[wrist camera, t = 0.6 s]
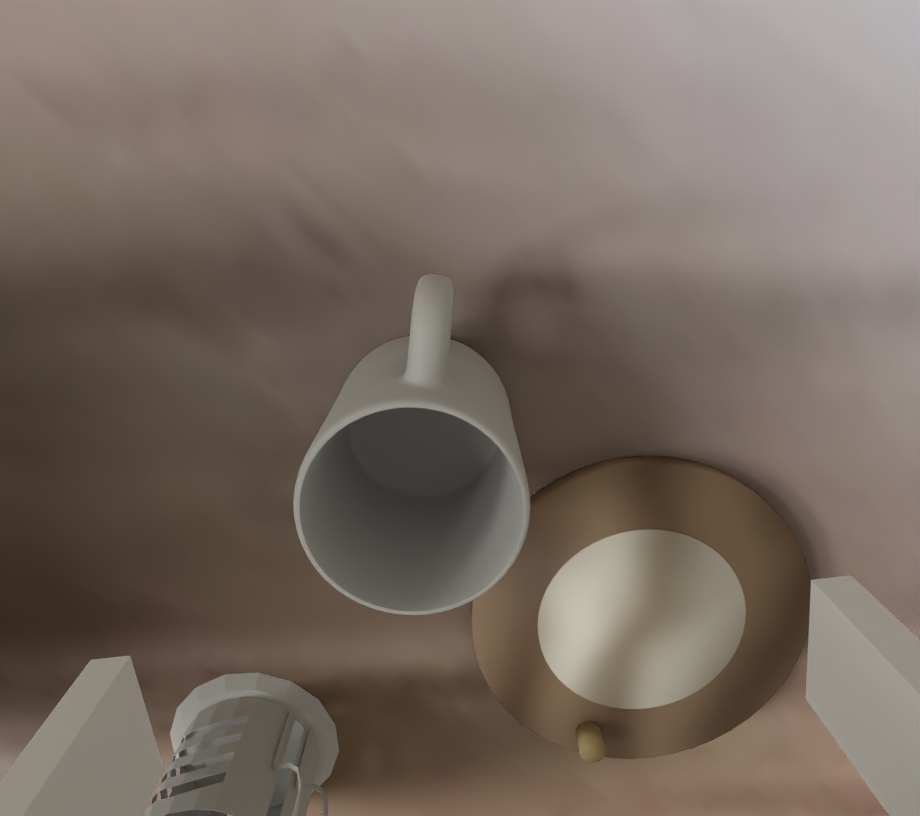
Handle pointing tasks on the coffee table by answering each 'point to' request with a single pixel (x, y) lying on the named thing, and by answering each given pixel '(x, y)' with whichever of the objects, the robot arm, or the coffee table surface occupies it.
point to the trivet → (644, 609)
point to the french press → (247, 750)
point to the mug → (416, 473)
